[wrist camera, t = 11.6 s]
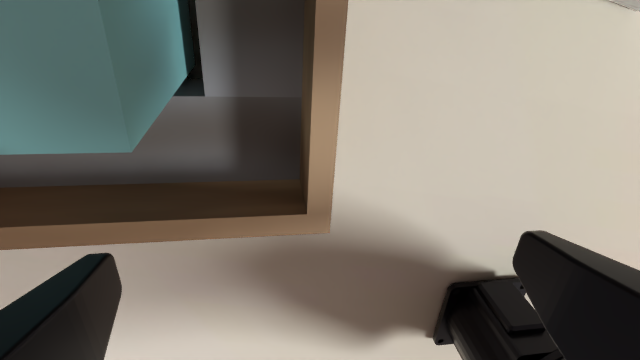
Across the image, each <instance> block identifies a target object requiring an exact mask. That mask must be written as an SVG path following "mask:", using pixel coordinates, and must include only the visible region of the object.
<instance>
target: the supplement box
mask: <svg viewBox="0 0 640 360" xmlns="http://www.w3.org/2000/svg"><path fill="white" fill-rule="evenodd" d="M609 1H611V2H614V3H617V4H619V5H622V6H624V7H627V8H629V9H632V10H634V11H640V0H609Z"/></svg>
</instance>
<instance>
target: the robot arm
mask: <svg viewBox="0 0 640 360" xmlns="http://www.w3.org/2000/svg"><path fill="white" fill-rule="evenodd" d="M513 267H514V270H515V272H516V274H517V276H518V278H516V279H503V280H491V281H478V282H466V283H455V284H452V285H450V286H449V287H448V290H447V293H446V296H445V300H444V303H443V306H442V309H441V313H440V316H439V319H438V323H437V326H436V329H435V333H434V336H433V340H434V342H435V344H436V345H446V344H454V345H455V347H456V349H457V351H458V353H459V354H460V356H461V358H462V360H640V271H639V270H637V269H634V268H632V267H630V266H627V265H625V264H622V263H620V262H618V261H615V260H613V259H610V258H608V257H606V256H603V255H601V254H598V253H596V252H593V251H591V250H589V249H586V248H584V247H581V246H579V245H577V244H574V243H572V242H569V241H567V240H565V239H562V238H560V237H557V236H555V235H553V234H550V233H548V232H545V231H541V230H539V231H526V232H524V233H523V234H522V235H521V237H520V240H519V243H518V246H517V248H516V251H515V254H514V256H513ZM121 292H122V285H121V281H120V277H119V274H118V270H117V267H116V263H115V260H114V258H113V256H112V255H111V254H109V253H98V254H88V255H86V256H84V257H83V258H81V259H79V260H78V261H76V262H75V263H73V264H72V265H70V266H69V267H67V268H65V269H64V270H62V271H61V272H59V273H58V274H56V275H55V276H53V277H51V278H50V279H48V280H47V281H45V282H44V283H42V284H41V285H39V286H37V287H36V288H34V289H33V290H31V291H30V292H28V293H27V294H25V295H23V296H22V297H20V298H19V299H17V300H16V301H14V302H12V303H11V304H9V305H8V306H6V307H5V308H3V309H2V310H0V360H104V357H105V353H106V350H107V346H108V342H109V338H110V335H111V331H112V327H113V324H114V320H115V316H116V312H117V309H118V305H119V301H120V298H121ZM525 293H527V295H528V297H529V299H530V300H531V302H532V304H533V306H534V308H535V309H534V308H533V307H532V306H531V305H530V303H529V302H528V301H527V300H526V299H525V297H524V296H525Z"/></svg>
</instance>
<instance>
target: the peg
mask: <svg viewBox="0 0 640 360" xmlns="http://www.w3.org/2000/svg"><path fill="white" fill-rule="evenodd" d="M194 66H195V58H194V50H193V41H192V32H191V23H190V15H189V6H188V0H0V155H11V154H67V153H124V152H132V151H133V150H134V148H135V147H136V146H137V144H138V143H139V142H140V140H141V139H142V137H143V136H144V135H145V133H146V132H147V131H148V129H149V128H150V126H151V125H152V124H153V122H154V121H155V120H156V118H157V117H158V115H159V114H160V113H161V111H162V110H163V109H164V107H165V106H166V104H167V103H168V102H169V100H170V99H171V98H172V96H173V95H174V93H175V92H176V91H177V89H178V88H179V87H180V85H181V84H182V82H183V81H184V80H185V78H186V77H187V75H188V74H189V73H190V71H191V70H192V69H193V67H194Z"/></svg>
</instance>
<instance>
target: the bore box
mask: <svg viewBox="0 0 640 360" xmlns="http://www.w3.org/2000/svg"><path fill="white" fill-rule="evenodd" d="M195 4H196V14H197V24H198V34H199V43H200V53H201V63H202V73H203V79H185V80H184V81H183V82H182V84H181V85H180V87H179V88H178V89H177V91H176V92H175V93H174V95H173V96H172V98H171V99H170V100H169V102H168V103H167V104H166V106H165V107H164V109H163V110H162V111H161V113H160V114H159V115H158V117H157V118H156V120H155V121H154V122H153V124H152V125H151V126H150V128H149V129H148V131H147V132H146V133H145V135H144V136H143V137H142V139H141V140H140V142H139V143H138V144H137V146H136V147H135V148H134V150H133V151H132V152H124V153H67V154H11V155H0V250H10V249H29V248H48V247H67V246H86V245H106V244H125V243H144V242H163V241H182V240H202V239H221V238H240V237H259V236H278V235H297V234H317V233H330V221H331V208H332V196H333V183H334V171H335V158H336V146H337V134H338V121H339V109H340V96H341V84H342V71H343V59H344V46H345V34H346V21H347V9H348V0H195Z"/></svg>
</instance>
